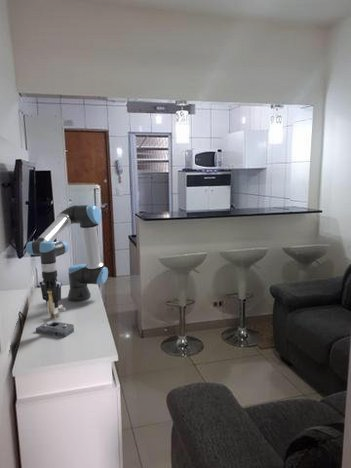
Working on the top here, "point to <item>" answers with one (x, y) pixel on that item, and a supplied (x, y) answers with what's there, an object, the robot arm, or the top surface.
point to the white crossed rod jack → (60, 310)
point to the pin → (51, 304)
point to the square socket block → (56, 329)
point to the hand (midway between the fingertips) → (53, 312)
